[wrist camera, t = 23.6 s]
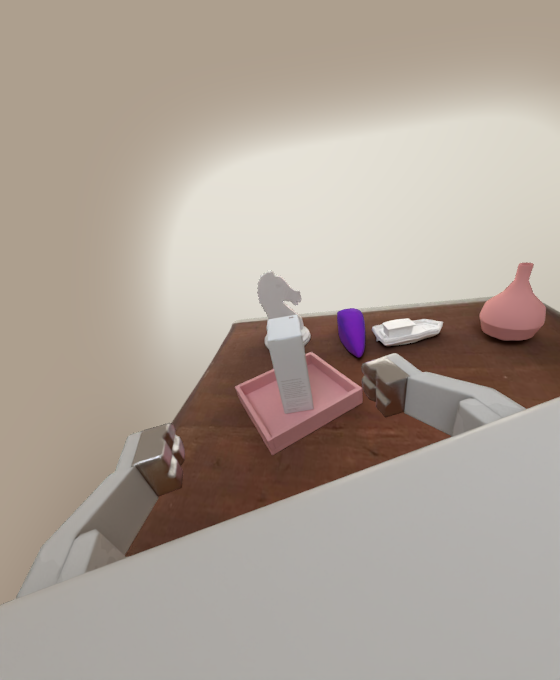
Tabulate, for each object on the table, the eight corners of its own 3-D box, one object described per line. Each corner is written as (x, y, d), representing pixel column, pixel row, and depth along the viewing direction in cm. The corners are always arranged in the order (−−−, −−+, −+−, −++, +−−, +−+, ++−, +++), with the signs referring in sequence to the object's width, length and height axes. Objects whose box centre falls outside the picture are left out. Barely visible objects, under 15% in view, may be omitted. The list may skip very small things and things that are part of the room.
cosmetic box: (282, 386, 40) (266, 318, 34) (308, 382, 39) (298, 313, 33) (283, 415, 34) (266, 340, 28) (314, 410, 34) (303, 334, 28)
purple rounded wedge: (344, 346, 40) (334, 303, 52) (345, 369, 43) (335, 322, 55) (375, 343, 39) (357, 299, 52) (374, 366, 42) (357, 319, 54)
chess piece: (314, 347, 49) (304, 271, 42) (265, 355, 49) (246, 282, 42) (307, 325, 58) (297, 259, 50) (265, 333, 58) (250, 268, 51)
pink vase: (465, 337, 43) (479, 268, 37) (490, 322, 46) (508, 255, 40) (521, 355, 37) (549, 275, 31) (547, 336, 39) (577, 259, 34)
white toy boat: (370, 335, 49) (370, 320, 47) (432, 324, 48) (434, 308, 47) (383, 351, 44) (383, 335, 42) (452, 339, 43) (455, 322, 42)
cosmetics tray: (272, 455, 30) (267, 441, 29) (239, 399, 40) (234, 386, 38) (362, 402, 34) (362, 388, 33) (313, 363, 44) (311, 351, 43)
